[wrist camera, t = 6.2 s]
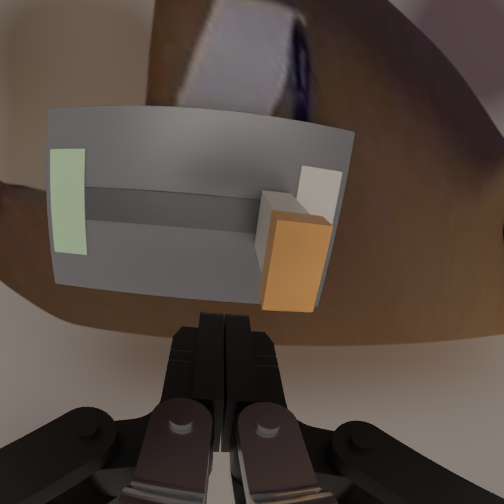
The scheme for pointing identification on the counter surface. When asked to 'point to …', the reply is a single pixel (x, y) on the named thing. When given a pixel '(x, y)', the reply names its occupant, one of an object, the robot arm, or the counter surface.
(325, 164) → the breaker housing
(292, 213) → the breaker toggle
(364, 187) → the counter surface
